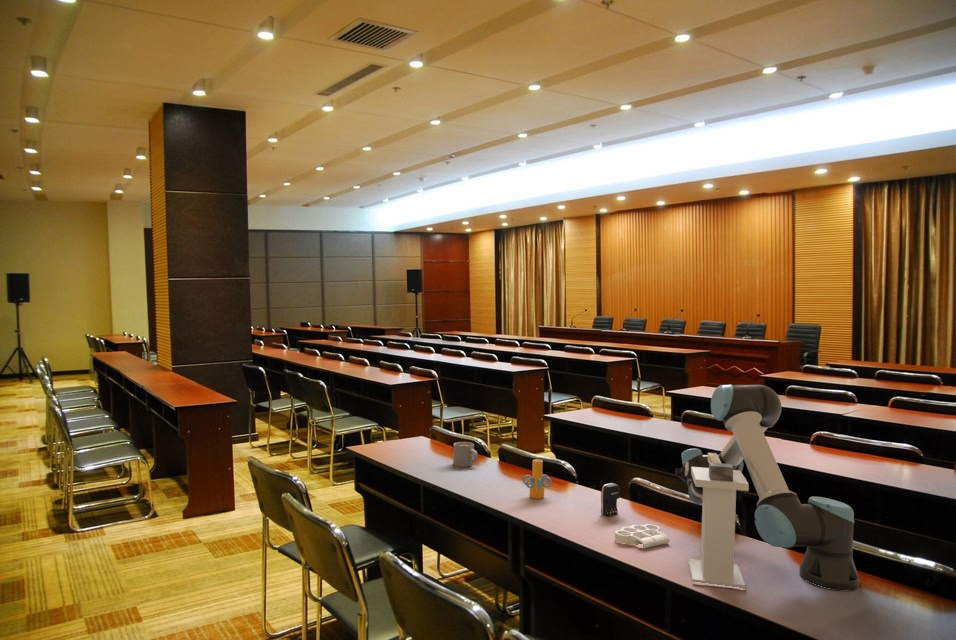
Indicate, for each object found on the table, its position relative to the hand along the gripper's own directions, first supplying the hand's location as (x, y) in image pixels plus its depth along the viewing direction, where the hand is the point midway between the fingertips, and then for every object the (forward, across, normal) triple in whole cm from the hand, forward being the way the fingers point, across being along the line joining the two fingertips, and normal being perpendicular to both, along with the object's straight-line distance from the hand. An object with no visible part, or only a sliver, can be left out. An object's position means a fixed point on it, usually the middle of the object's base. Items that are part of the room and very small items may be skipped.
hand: (709, 467), depth 208 cm
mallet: (+17, 0, -6) cm, 18 cm away
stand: (+6, 0, -34) cm, 35 cm away
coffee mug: (-80, +103, +16) cm, 132 cm away
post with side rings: (-46, +62, -4) cm, 77 cm away
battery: (-35, +32, -11) cm, 49 cm away
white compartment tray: (-15, +21, -23) cm, 34 cm away
